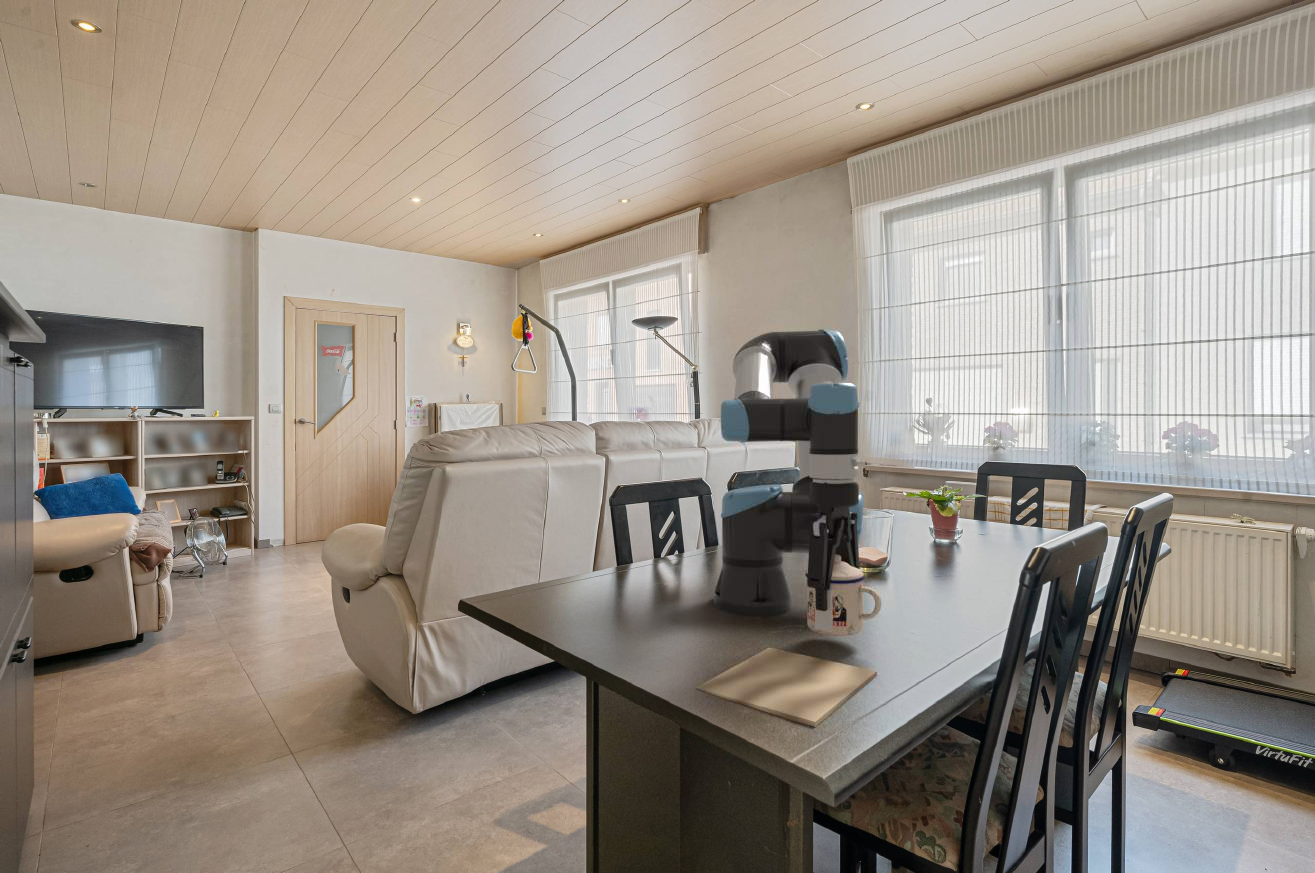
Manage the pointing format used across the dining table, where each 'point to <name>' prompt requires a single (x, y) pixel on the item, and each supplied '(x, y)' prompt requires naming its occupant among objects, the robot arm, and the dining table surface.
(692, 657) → the dining table surface
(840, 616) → the teacup with lid
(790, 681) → the cork mat
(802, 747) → the dining table surface
